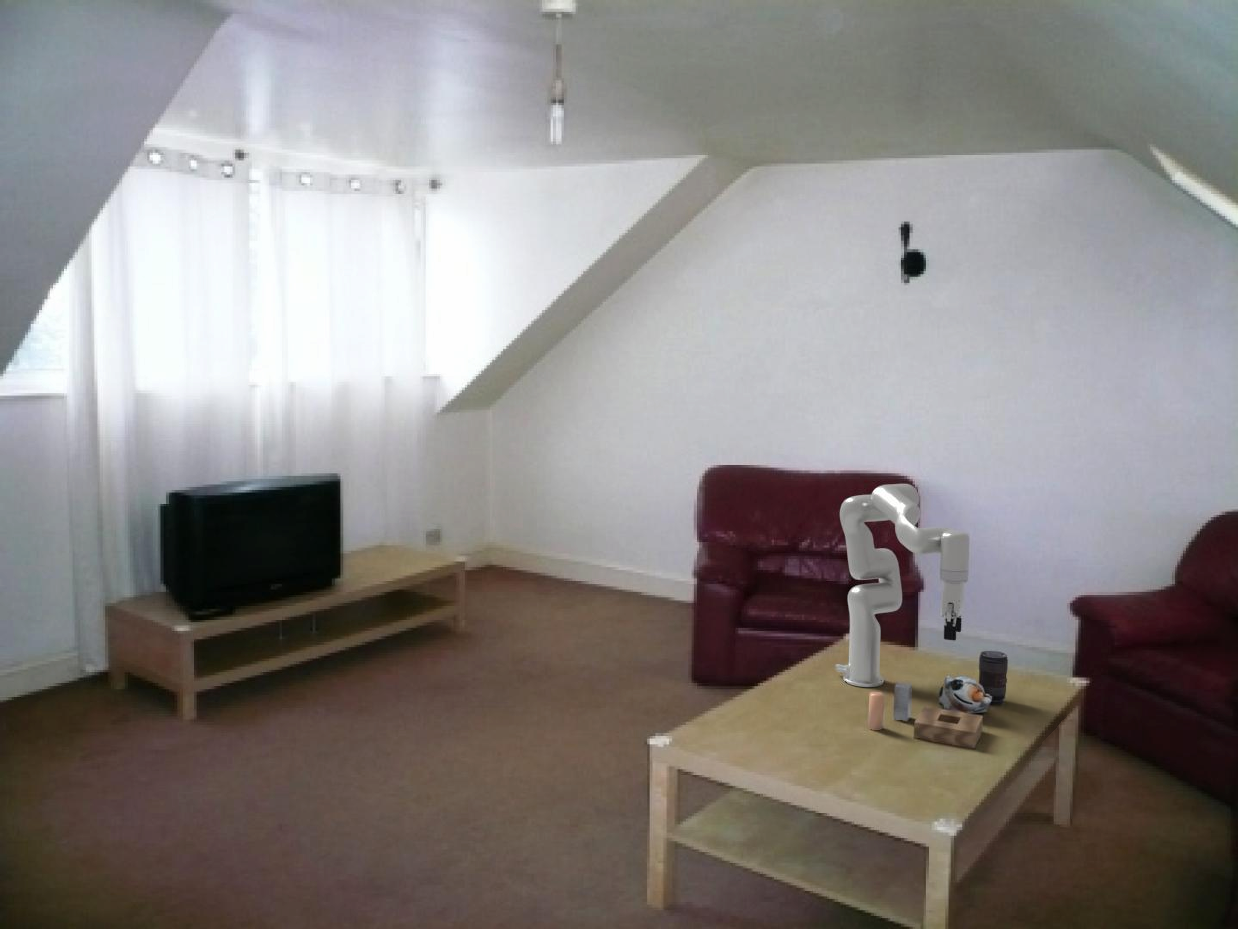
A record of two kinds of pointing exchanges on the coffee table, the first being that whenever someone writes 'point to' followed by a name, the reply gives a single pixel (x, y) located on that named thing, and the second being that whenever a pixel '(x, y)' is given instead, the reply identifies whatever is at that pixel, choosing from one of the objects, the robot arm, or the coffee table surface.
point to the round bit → (876, 710)
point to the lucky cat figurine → (963, 695)
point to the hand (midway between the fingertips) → (952, 635)
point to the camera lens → (993, 675)
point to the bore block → (948, 727)
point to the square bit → (902, 701)
